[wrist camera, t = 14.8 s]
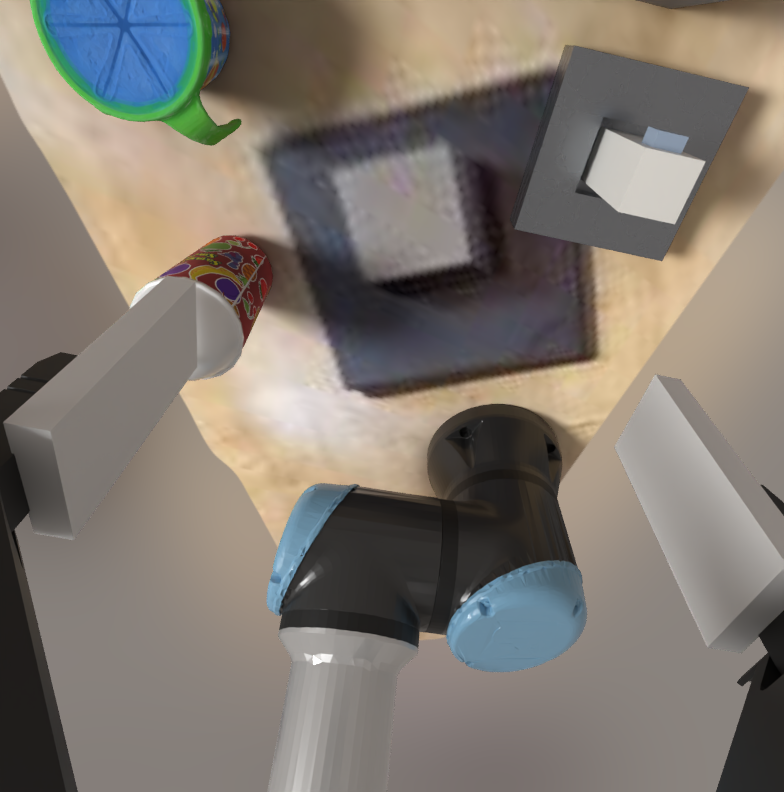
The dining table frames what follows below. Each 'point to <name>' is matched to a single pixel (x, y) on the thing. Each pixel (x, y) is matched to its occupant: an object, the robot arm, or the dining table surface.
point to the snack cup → (140, 57)
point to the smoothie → (222, 299)
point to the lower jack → (624, 111)
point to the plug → (643, 172)
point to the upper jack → (678, 2)
